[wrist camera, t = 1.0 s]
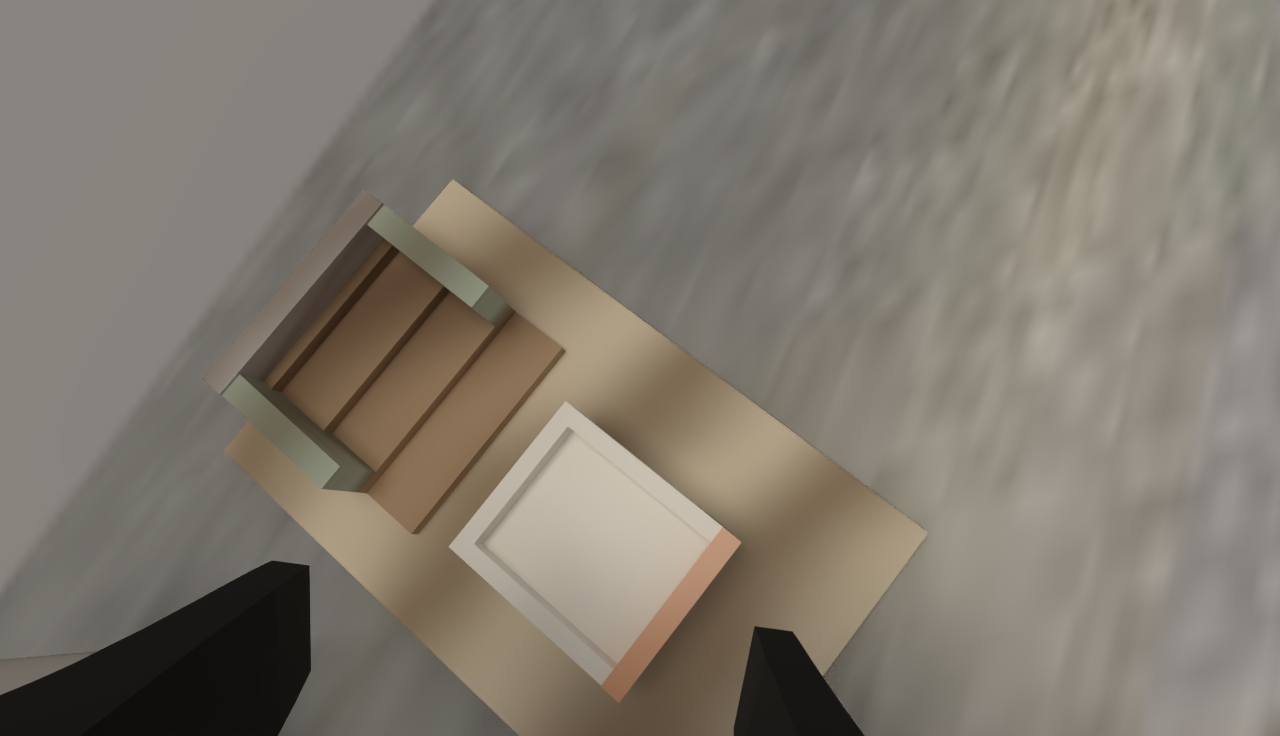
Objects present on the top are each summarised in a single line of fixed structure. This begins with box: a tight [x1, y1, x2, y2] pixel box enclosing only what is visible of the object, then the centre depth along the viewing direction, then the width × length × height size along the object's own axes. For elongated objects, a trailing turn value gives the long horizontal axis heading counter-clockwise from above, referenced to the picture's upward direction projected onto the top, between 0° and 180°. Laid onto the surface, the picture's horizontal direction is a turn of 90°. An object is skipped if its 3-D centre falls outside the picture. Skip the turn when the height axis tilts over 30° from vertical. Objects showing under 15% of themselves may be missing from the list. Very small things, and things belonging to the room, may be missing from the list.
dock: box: [202, 179, 928, 736], centre depth 22 cm, size 19×12×4 cm, turn 51°
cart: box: [449, 401, 742, 703], centre depth 21 cm, size 6×5×3 cm
